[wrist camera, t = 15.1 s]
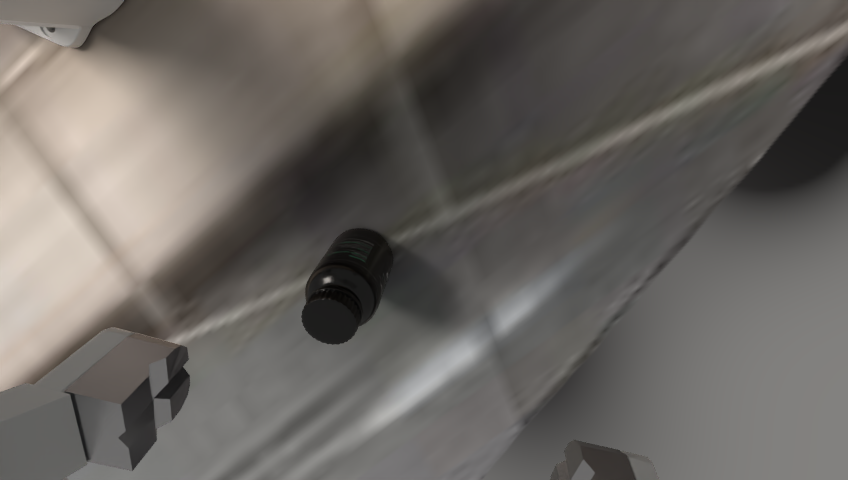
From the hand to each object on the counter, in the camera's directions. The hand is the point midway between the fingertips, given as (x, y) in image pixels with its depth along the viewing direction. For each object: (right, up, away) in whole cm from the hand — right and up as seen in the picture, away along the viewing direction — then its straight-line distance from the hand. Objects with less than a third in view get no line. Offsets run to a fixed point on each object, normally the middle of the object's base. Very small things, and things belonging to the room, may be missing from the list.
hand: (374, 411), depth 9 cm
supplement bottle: (-6, +2, +37) cm, 37 cm away
